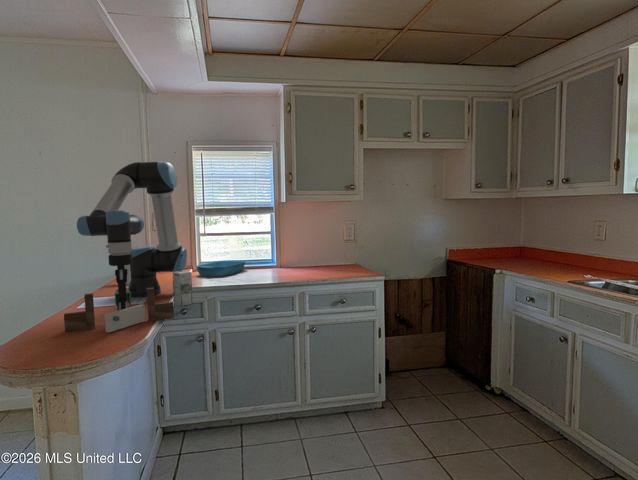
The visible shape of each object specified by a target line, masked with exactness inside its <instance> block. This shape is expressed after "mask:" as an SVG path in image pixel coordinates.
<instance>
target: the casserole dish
mask: <svg viewBox="0 0 638 480" xmlns="http://www.w3.org/2000/svg"><path fill="white" fill-rule="evenodd" d="M245 265H246V260H237V259H235V260H233V259H232V260H217V261H212V262H207V263H203V264H199V265H196V266H195V267H196V270H197V272H198V274H199V275H200V276H201V277H209V278H211V277H212V278H213V277H214V278H220V277H221V278H222V277H227V276H230V275H234V274H238V273H241V272H243V270H244V268H245Z"/></svg>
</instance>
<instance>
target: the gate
mask: <svg viewBox="0 0 638 480" xmlns="http://www.w3.org/2000/svg"><path fill="white" fill-rule="evenodd" d="M143 322H146V310H145V304H141V303H140V304H138V305H133V306H131V307H130V308H126V309H122V310H119V311H116V310H115V311H112V312H108V313H105V314H104V324H105V325H104V326H105V327H104V328H105V333H112V332H115V331H117V330H121V329H122V330H123V329H125V328H128V327H130V326H133V325H137V324H139V323H143Z"/></svg>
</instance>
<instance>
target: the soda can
mask: <svg viewBox="0 0 638 480" xmlns="http://www.w3.org/2000/svg"><path fill="white" fill-rule="evenodd" d="M126 297H127V306H128V308H130V307H132V301H131V299H132V298H131V297H132V296H130V291H129V289H128V288H126ZM118 299H119V293H118V288H117V289H116V290H115V292H114V305H115V311H119V303H117V301H118Z"/></svg>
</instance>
